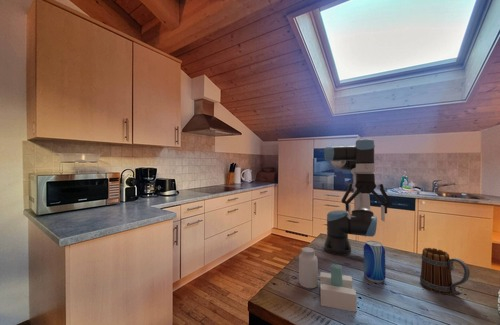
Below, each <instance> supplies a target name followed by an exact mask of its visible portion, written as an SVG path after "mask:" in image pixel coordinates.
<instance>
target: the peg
mask: <svg viewBox="0 0 500 325" xmlns="http://www.w3.org/2000/svg"><path fill="white" fill-rule="evenodd" d="M330 273H331V285H332V286H338V287H342V275H343V268H342V266H341V265H339V264H331V265H330Z"/></svg>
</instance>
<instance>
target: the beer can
mask: <svg viewBox="0 0 500 325" xmlns="http://www.w3.org/2000/svg"><path fill="white" fill-rule="evenodd" d="M363 275H364V276H365V278H366V279H367V280H369V281H370V282H372V283H377V284H380V283H383V282H384V281H385V280H386V250H385V248H384V246H383V243H382V242H380V241H377V240H376V241H375V240H366V241H365V244H364V245H363Z"/></svg>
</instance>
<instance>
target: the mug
mask: <svg viewBox="0 0 500 325" xmlns="http://www.w3.org/2000/svg"><path fill="white" fill-rule="evenodd" d="M454 262H456V263H458V264H460V266H461V267H462V269H463V276H462V278H461V279H460V280H459V281H457V282H453V278H452V271H454V270H456V267H455V266H454ZM470 273H471V272H470V268H469V266H468V265H467V263H466V262H465V261H464V260H463V259H460V258H457V257H452V258H450V254H449V253H448V252H447V251H445V250H444V251H443V250H442V249H437V248H434V247H433V248H431V247H424V248H423V249H422V253H421V267H420V275H419V283H420V284H421V285H422V286H423V287H424V288H425V289H427V290H429V291H431V292H433V293H437V294H442V295H450V294H454V295H456V296H460V295H462V294H463V291H462V290H457V289H456V287H458V286H460V285H462V284H465V283H466V282H467V281H468V280H469V277H470Z"/></svg>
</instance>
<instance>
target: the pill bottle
mask: <svg viewBox="0 0 500 325" xmlns="http://www.w3.org/2000/svg"><path fill="white" fill-rule="evenodd" d="M318 263H319V260H318V257H317V256H316V255H315V249H314V248H312V247H308V246H306V247H302V248H301V254H299V256H298V277H299V278H298V281H299V284H300V286H302V287H304V288H306V289H315V288H317V287H318V284H319V276H318V275H319V269H318V268H319V264H318Z"/></svg>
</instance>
